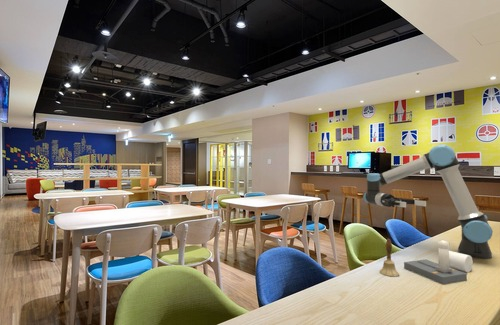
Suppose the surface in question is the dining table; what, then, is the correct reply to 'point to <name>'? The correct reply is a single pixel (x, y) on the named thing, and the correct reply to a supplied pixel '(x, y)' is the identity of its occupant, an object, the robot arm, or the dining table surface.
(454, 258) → the mug
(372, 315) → the dining table surface
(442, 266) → the lever
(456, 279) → the console
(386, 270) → the hand bell
